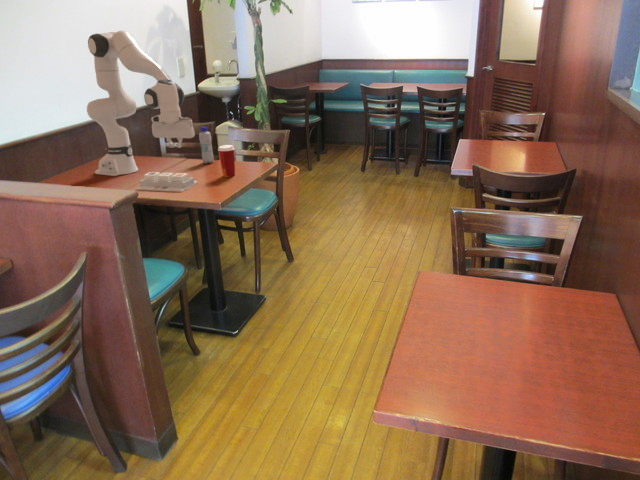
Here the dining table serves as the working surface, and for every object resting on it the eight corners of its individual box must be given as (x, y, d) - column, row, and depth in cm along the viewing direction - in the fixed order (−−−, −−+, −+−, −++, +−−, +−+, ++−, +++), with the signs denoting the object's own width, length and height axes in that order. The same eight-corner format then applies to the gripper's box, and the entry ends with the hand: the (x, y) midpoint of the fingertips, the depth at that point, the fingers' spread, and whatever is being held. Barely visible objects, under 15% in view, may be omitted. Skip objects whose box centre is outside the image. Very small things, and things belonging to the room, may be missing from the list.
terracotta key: (172, 182, 241) (171, 175, 239) (178, 179, 245) (177, 172, 244) (183, 182, 239) (182, 176, 238) (188, 179, 244) (187, 173, 243)
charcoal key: (145, 181, 244) (143, 174, 243) (151, 177, 249) (150, 171, 248) (155, 181, 243) (153, 175, 242) (161, 178, 248) (160, 172, 247)
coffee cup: (239, 173, 262) (236, 144, 256) (233, 178, 254) (230, 148, 248) (225, 173, 264) (221, 144, 258) (218, 177, 256) (214, 148, 251)
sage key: (158, 181, 242) (157, 175, 241) (164, 178, 247) (163, 172, 246) (168, 182, 241) (167, 175, 240) (175, 178, 246) (174, 172, 245)
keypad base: (137, 189, 242) (135, 182, 241) (154, 181, 255) (153, 174, 254) (182, 192, 236) (181, 184, 234) (197, 182, 249) (196, 175, 247)
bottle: (211, 164, 283) (207, 128, 275) (200, 164, 284) (195, 128, 276) (216, 161, 289) (212, 125, 281) (205, 161, 290) (200, 125, 283)
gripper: (195, 116, 231) (199, 146, 236) (155, 115, 236) (160, 145, 241) (188, 118, 225) (192, 149, 230) (147, 118, 231) (152, 148, 236)
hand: (175, 147), depth 236 cm, fingers open, 2 cm apart
